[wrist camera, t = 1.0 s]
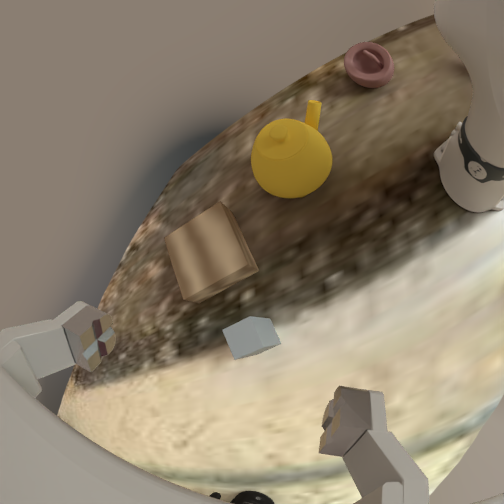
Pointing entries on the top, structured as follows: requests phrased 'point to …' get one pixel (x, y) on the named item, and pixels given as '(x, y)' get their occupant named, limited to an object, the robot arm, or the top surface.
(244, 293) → the top surface
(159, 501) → the robot arm
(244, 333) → the gray block
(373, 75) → the mortar and pestle
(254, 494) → the milk frother
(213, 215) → the maple block
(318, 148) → the teapot
